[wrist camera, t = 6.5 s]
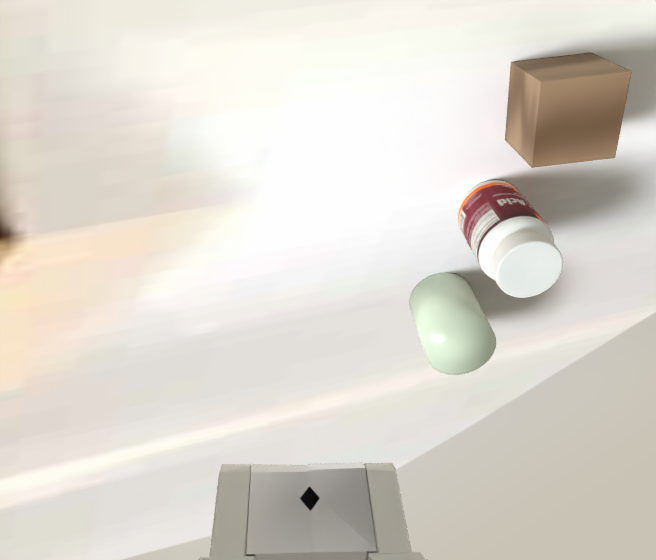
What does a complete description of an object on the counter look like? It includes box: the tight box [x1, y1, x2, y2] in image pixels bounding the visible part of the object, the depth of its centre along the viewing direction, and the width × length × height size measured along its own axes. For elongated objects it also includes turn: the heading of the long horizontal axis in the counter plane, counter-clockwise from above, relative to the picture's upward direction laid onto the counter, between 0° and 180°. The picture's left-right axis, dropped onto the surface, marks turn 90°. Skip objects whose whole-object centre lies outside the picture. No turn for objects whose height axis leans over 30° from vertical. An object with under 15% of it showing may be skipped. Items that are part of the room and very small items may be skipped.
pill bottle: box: [457, 180, 563, 298], centre depth 37 cm, size 5×5×8 cm
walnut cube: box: [505, 53, 631, 168], centre depth 35 cm, size 5×5×5 cm
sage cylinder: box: [409, 273, 496, 375], centre depth 42 cm, size 5×5×6 cm
